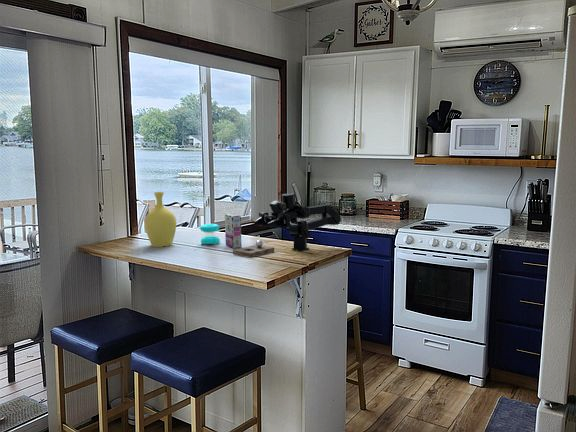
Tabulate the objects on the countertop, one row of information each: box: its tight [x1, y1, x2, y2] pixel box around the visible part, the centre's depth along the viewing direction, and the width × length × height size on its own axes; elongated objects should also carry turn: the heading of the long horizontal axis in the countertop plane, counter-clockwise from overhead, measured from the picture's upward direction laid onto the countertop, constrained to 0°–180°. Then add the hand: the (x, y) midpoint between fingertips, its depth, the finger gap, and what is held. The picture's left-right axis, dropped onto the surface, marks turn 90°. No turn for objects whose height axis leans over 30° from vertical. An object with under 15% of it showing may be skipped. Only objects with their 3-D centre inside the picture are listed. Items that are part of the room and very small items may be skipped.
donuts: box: [199, 223, 221, 245], centre depth 265 cm, size 10×10×10 cm
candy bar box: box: [224, 213, 243, 249], centre depth 255 cm, size 11×5×16 cm, turn 27°
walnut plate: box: [232, 244, 275, 259], centre depth 240 cm, size 16×12×2 cm
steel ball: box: [255, 239, 264, 247], centre depth 242 cm, size 4×4×4 cm
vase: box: [144, 191, 177, 248], centre depth 262 cm, size 16×16×28 cm
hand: (260, 223), depth 226 cm, fingers open, 9 cm apart
